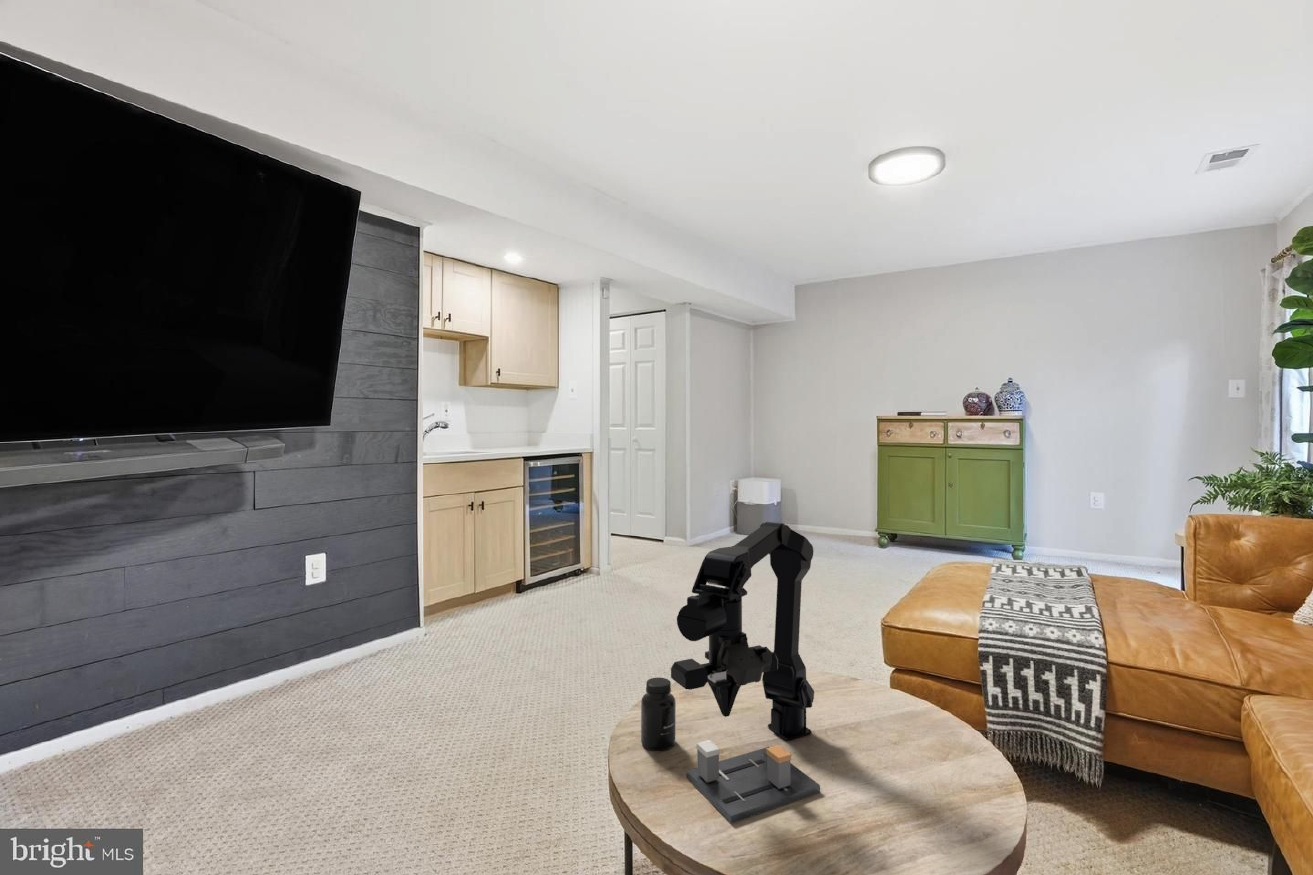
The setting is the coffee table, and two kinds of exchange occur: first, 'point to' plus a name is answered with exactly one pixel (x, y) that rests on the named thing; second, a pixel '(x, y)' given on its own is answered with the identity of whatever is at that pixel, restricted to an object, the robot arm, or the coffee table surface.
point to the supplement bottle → (658, 715)
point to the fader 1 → (708, 760)
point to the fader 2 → (778, 766)
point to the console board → (750, 786)
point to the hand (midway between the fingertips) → (725, 715)
